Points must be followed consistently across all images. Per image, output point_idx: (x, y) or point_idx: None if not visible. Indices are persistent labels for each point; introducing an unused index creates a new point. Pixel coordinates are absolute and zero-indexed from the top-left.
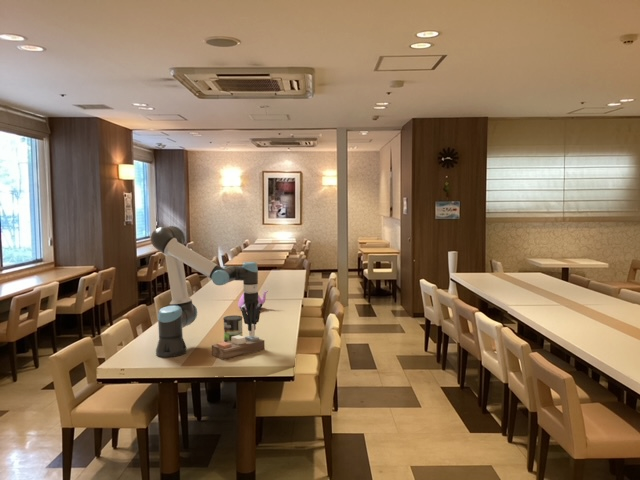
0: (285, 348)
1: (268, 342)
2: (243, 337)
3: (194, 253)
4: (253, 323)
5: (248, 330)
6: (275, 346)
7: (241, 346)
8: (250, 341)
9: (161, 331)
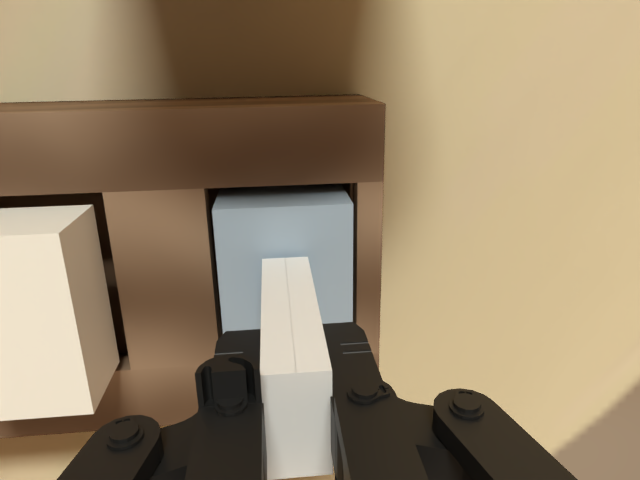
0: (521, 424)
1: (572, 142)
2: (62, 409)
3: None
4: (332, 465)
5: (224, 338)
6: (509, 318)
7: (15, 432)
8: (214, 342)
9: None
